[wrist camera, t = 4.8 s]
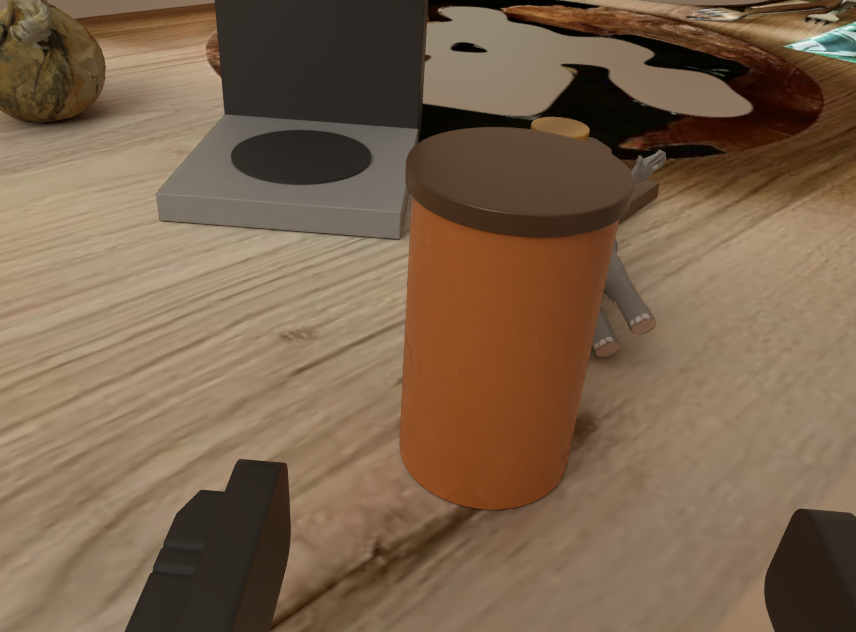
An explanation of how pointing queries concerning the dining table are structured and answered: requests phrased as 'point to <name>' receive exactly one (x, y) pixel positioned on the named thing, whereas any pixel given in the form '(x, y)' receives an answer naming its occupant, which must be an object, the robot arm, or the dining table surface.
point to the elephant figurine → (625, 283)
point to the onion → (46, 63)
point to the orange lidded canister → (502, 306)
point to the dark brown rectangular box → (309, 119)
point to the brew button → (562, 127)
